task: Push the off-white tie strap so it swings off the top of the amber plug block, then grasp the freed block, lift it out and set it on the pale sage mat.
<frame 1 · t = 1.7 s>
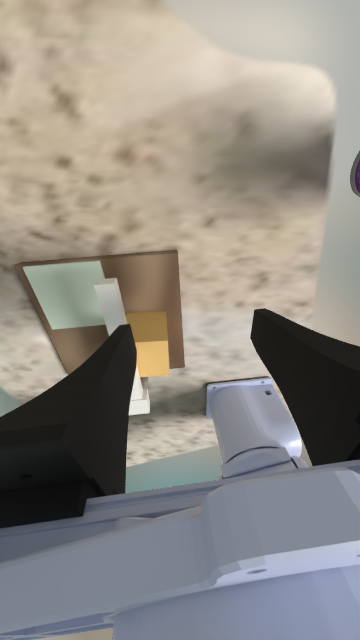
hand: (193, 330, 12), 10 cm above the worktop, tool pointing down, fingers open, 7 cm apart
tie strap: (126, 358, 16), point 7 cm above the worktop, hinge at 0.0°
brown tray: (117, 321, 22), on the worktop
sage mat: (78, 292, 20), resting on brown tray
plug block: (148, 328, 22), point 1 cm above the worktop, touching brown tray
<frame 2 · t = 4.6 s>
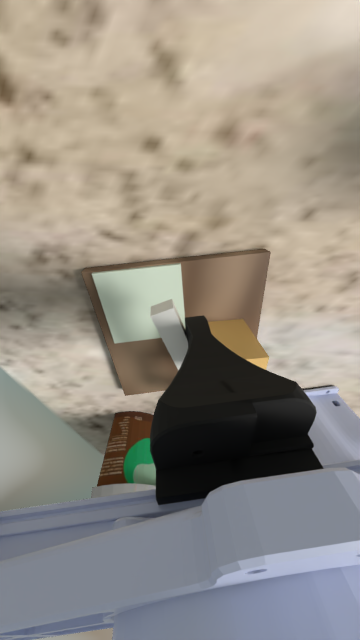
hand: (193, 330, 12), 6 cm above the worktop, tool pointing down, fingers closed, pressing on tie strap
tie strap: (198, 385, 14), point 7 cm above the worktop, hinge at 15.0°, touching gripper
brown tray: (182, 331, 19), on the worktop
food container: (150, 425, 28), on the worktop
sage mat: (145, 300, 17), resting on brown tray
plug block: (219, 338, 19), point 1 cm above the worktop, touching brown tray
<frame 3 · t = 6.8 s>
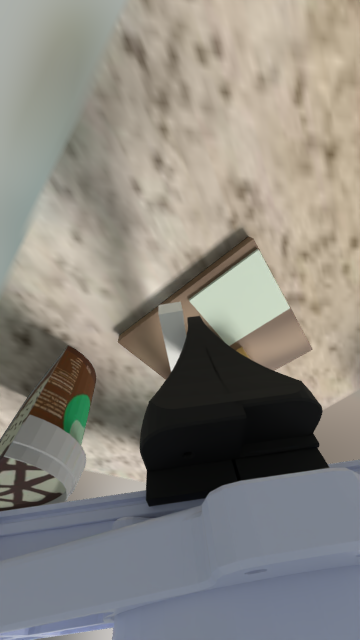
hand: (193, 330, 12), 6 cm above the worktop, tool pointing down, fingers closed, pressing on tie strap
tie strap: (184, 390, 14), point 7 cm above the worktop, hinge at 59.6°, touching gripper
brown tray: (219, 339, 20), on the worktop
food container: (75, 383, 22), on the worktop
sage mat: (236, 298, 18), resting on brown tray
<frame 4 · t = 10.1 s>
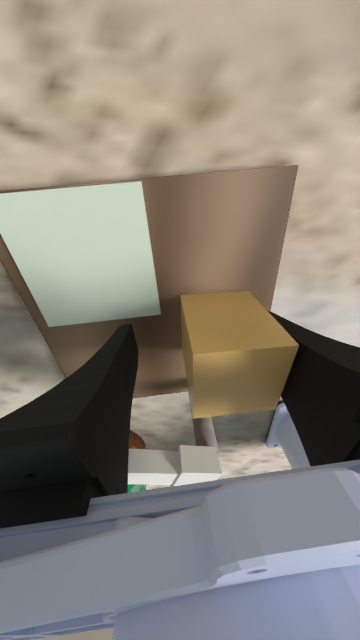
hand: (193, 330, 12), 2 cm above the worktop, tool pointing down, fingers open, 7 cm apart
tie strap: (80, 464, 9), point 7 cm above the worktop, hinge at 69.0°
brown tray: (158, 311, 13), on the worktop
food container: (125, 441, 21), on the worktop
sage mat: (94, 258, 11), resting on brown tray
plug block: (212, 321, 13), point 1 cm above the worktop, touching gripper, brown tray
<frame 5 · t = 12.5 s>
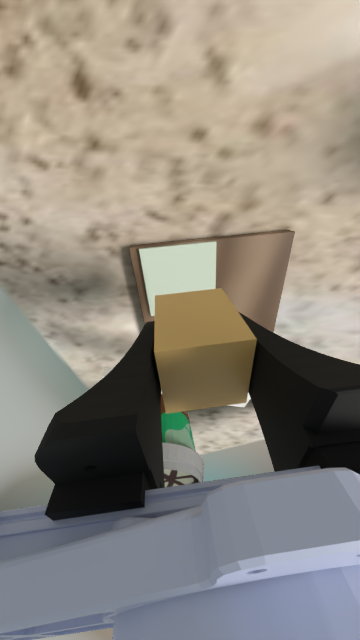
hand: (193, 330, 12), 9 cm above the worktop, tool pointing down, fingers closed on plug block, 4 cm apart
tie strap: (180, 386, 17), point 7 cm above the worktop, hinge at 69.0°
brown tray: (210, 307, 21), on the worktop
food container: (172, 402, 30), on the worktop
sage mat: (179, 277, 19), resting on brown tray
plug block: (190, 320, 13), point 8 cm above the worktop, touching gripper
when the fingers open (4 cm above the worktop, at t = 13.9 s): plug block stays where it is, resting on sage mat.
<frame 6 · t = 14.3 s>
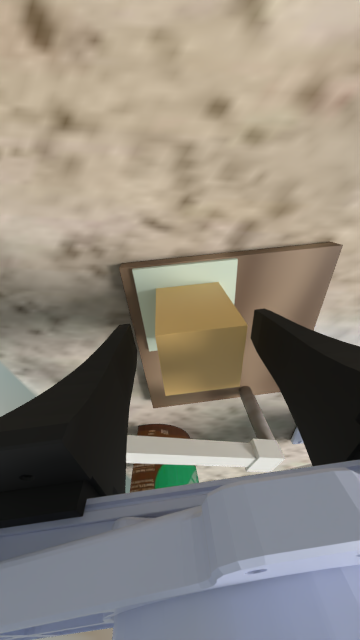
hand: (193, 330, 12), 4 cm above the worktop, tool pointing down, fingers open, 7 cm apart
tie strap: (188, 451, 13), point 7 cm above the worktop, hinge at 69.0°
brown tray: (224, 336, 17), on the worktop
food container: (174, 438, 25), on the worktop
sage mat: (186, 302, 15), resting on brown tray
plug block: (188, 312, 14), point 1 cm above the worktop, touching sage mat
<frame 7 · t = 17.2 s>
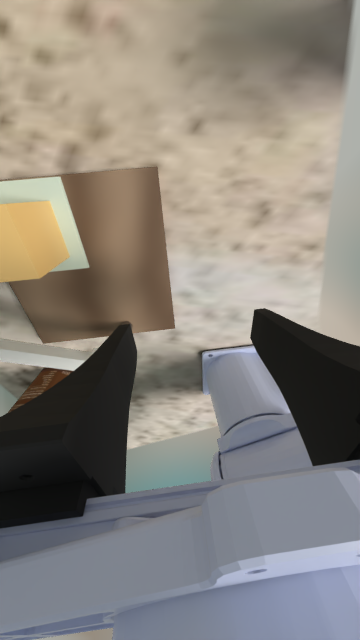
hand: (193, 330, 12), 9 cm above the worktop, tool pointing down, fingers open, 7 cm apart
tie strap: (25, 353, 15), point 7 cm above the worktop, hinge at 69.0°
brown tray: (92, 269, 19), on the worktop
food container: (86, 385, 27), on the worktop
sage mat: (41, 228, 16), resting on brown tray
plug block: (34, 233, 15), point 1 cm above the worktop, touching sage mat
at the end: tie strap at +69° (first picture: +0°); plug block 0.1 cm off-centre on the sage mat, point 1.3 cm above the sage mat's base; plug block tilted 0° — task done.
